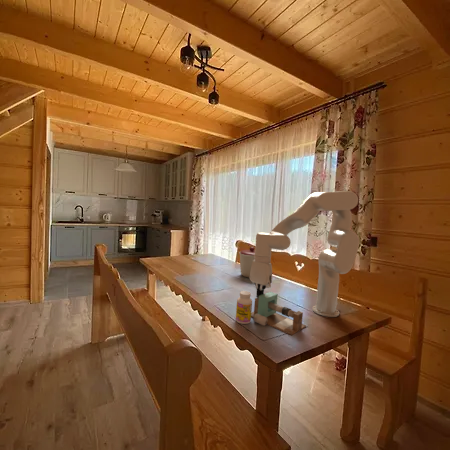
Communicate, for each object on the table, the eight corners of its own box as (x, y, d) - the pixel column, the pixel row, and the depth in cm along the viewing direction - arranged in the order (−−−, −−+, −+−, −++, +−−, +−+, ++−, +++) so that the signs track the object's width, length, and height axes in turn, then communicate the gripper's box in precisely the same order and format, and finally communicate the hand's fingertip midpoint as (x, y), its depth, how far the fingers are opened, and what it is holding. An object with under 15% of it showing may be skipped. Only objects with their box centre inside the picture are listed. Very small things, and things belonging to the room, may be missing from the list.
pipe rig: (263, 308, 128) (264, 293, 128) (305, 326, 112) (307, 309, 112) (247, 315, 120) (248, 299, 119) (291, 335, 104) (293, 317, 103)
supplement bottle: (233, 322, 112) (235, 293, 111) (238, 316, 118) (240, 289, 117) (248, 325, 110) (250, 296, 109) (252, 319, 116) (254, 291, 115)
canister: (256, 272, 197) (258, 244, 195) (267, 279, 180) (269, 249, 178) (233, 272, 191) (235, 244, 190) (243, 280, 174) (245, 249, 173)
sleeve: (255, 323, 115) (259, 316, 116) (264, 327, 111) (268, 320, 113) (252, 318, 113) (256, 311, 114) (261, 323, 109) (265, 315, 111)
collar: (269, 309, 124) (270, 291, 123) (276, 312, 121) (277, 294, 120) (257, 314, 118) (258, 295, 117) (264, 317, 115) (266, 298, 114)
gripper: (245, 256, 123) (242, 294, 125) (271, 263, 113) (267, 304, 114) (255, 255, 129) (252, 291, 130) (280, 261, 118) (277, 300, 120)
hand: (259, 297), depth 122 cm, fingers closed
